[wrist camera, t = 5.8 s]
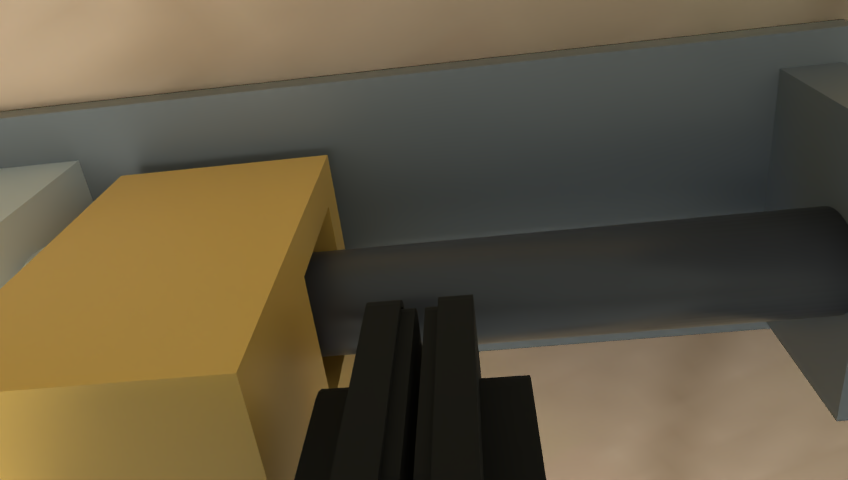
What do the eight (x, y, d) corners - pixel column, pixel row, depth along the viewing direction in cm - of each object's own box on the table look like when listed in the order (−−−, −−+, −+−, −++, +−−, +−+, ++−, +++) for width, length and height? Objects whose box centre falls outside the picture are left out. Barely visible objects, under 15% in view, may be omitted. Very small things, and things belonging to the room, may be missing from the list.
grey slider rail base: (843, 19, 14) (1029, 88, 10) (801, 311, 18) (927, 468, 13) (-89, 121, 16) (-307, 222, 11) (26, 373, 19) (-108, 533, 15)
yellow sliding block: (327, 155, 15) (236, 373, 8) (360, 332, 17) (307, 618, 10) (121, 175, 15) (-120, 401, 9) (177, 347, 17) (16, 634, 11)
